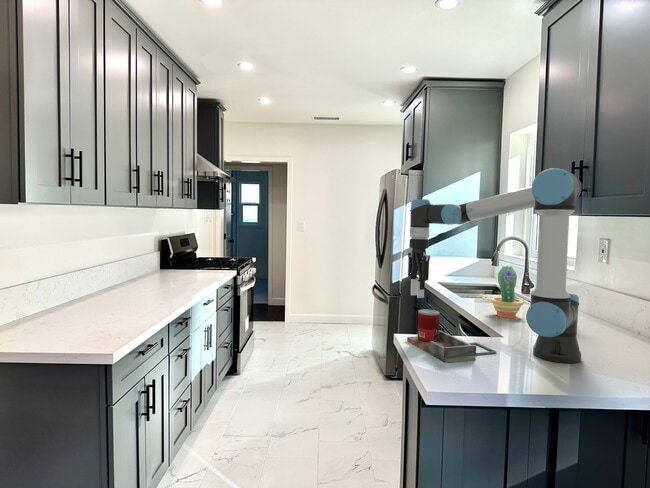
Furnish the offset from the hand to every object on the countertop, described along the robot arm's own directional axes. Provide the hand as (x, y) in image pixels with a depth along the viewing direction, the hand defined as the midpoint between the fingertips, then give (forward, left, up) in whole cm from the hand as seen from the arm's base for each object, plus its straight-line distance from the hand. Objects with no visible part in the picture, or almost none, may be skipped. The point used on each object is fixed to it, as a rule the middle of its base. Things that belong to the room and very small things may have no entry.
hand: (417, 296), depth 173 cm
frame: (-20, -13, -17) cm, 29 cm away
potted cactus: (+24, -65, -17) cm, 71 cm away
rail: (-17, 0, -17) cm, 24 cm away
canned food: (-9, 0, -15) cm, 18 cm away
